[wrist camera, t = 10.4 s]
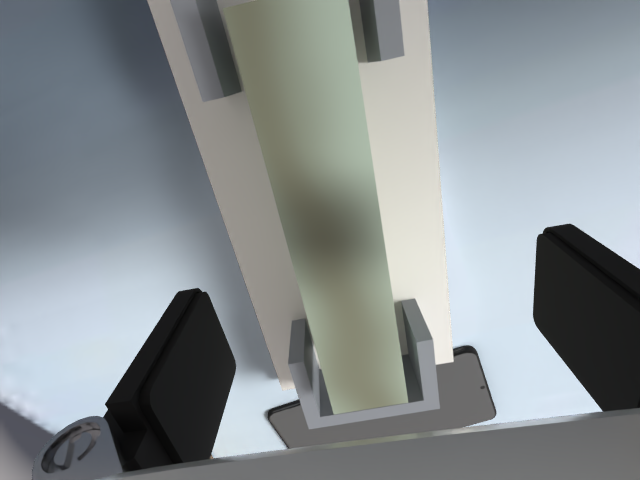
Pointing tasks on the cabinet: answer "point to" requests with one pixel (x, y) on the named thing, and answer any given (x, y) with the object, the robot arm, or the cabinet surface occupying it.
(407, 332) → the bracket board
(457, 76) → the cabinet surface
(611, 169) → the cabinet surface
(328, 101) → the rail
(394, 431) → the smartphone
